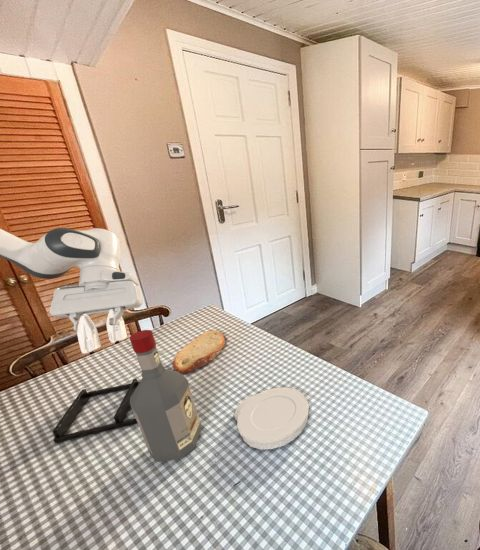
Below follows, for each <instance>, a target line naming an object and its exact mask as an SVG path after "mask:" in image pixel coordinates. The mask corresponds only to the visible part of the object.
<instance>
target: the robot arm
mask: <svg viewBox="0 0 480 550" xmlns="http://www.w3.org/2000/svg"><path fill="white" fill-rule="evenodd" d="M0 258H2V259H4V260H6V261H8V262H10V263H12V264H14V265H15V266H17V267H18V268H20V269H21V270H22V271H24V272H25V273H27V274H29V275H30V276H32V277H35V278H38V279H43V280H44V279H45V280H53V279H59V278H61V277H63V276H65V275H66V274H67V273H68V272H69V271H70V270H71V269H72V268H74V267H77V268H79V278H78V283H74V284H66V285H61V286H59V287H58V288H56V289H54V291H53V295H52V300H51V304H50V307H49V311H48V312H49V314H50V315H51V316H52V317H54V318H56V319H67V318H69V320H70V321H71V322H72V324H73V331H75V332H77V329H78V324H79V320H80V317H81V316H83V314H88V315H89V316H90V315H97V314H104V313H109V310H110V309H112V308H113V310H114V311H115V312H116V314H115V315H114V317H113V318H109V321H110V322H109V324H110V325H111V326H114V325H118V324H119V319H120V318H121V316H122V317H123V315H124V313H125V310H132V309H139V308H140V307H141V306H142V305H143V292H142V289H141V288H140V287H139V286H140V281H139V279H137V277H135V276H134V275H133V274H132V273H130V272H127V271H121V270H120V264H121V261H122V246H121V241H120V239H119V237H118V235H117V234H115V233H114V232H113V231H110V230H108V229H106V228H99V227H94V228H90V229H86V230H84V229H83V230H82V229H81V230H79V229H73V228H69V227H55V228H52V229H50V230H48V231H47V232H46V233H45V234H44V235H43V236H41V237H40V238H39V239H38V240H37V241H36V242H31V241H27V240H25V239H23V238H20V237H18V236H16V235H15V234H12V233H10V232H9V231H6V230H4V229H3V228H0Z"/></svg>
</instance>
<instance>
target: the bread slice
mask: <svg viewBox="0 0 480 550" xmlns="http://www.w3.org/2000/svg"><path fill="white" fill-rule="evenodd" d="M225 345H226V338H225V336H224V334H223V333H222V332H220V331H217V330H207V331H206V332H203V333H202V334H200V335H198V336H196V338H194V339H193V340H191V341H190V342H189V343H188V344H186V345H185V346H184V347H183V348H182V349H181V350H179V351H178V352H177V353H176V355H175V357H174V358H173V361H172V369H173V371H177V372H179V373H181V374H182V375H183V374H190V373H193V372H194V371H195V370H197V369H199V368H201V367H204V366H206V365H208V364H209V363H211V362H212V361H213V360H214V359H216V358H217V357H218V356H219V354H220V353H221V351H222V349H224V347H225Z"/></svg>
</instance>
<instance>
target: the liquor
mask: <svg viewBox="0 0 480 550" xmlns="http://www.w3.org/2000/svg"><path fill="white" fill-rule="evenodd" d="M129 341H130V344H131V346H132V349H133V352H134V353H135V355H136V358H137V361H138V364H139V367H140V370H141V380H140V381H139V382H140V383H139V385H138V386H137V388H136V389H135V391H134V392H133V394H132V396H131V397H130V405H131V406H130V407H131V410H132V413H133V415H134V418H136V420H137V425H138V427H139V430H140V433H141V435H142V437H143V440H144V443H145V445H146V448H147V450H148V453H149V455H150V456H151V458H152V459H153V460H154V461H155V462H157V463H160V462H168V461H174V460H182V459H183V458H185V457H187V456H188V455H190V453H192V452H193V451H194V449H195V446H196V445H197V442H198V439H199V438H200V435H201V432H202V429H203V428H202V425H201V422H200V421H201V420H200V418H199V415H198V411H197V408H196V405H195V401H194V398H193V394H192V390H191V387H190V384H189V381H188V378H186V377H185V376H184V375H183V374H181V373H179V372H177V371H175V370H174V369H169V368H166V367H165V366H164V365H163V363H162V361H161V357H160V354H159V352H158V349H157V343H156V339H155V337H154V334H153V331H152V330H150V329H142V330H139V331H136V332H134V333H133V334H131V335H130V337H129Z"/></svg>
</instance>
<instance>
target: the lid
mask: <svg viewBox="0 0 480 550" xmlns="http://www.w3.org/2000/svg"><path fill="white" fill-rule="evenodd" d="M309 406H310V405H309V402H308V399H307V397H306V396H305V395H304V394H303V392H300V391H299V390H298V389H295V388H291V387H288V386H287V387H285V386H283V387H273V388H270V389H266V390H264V391H262V392H260V393H255V394H253V395H250V396H247V398H245V399H243V400H242V401H241V402H240V403H239V404H238V405H237V407H236V408H235V411H234V414H233V417H234V419H235V420H236V422H237V423H236V427H237V430H238V432H239V436H241V438H242V440H243V442H245V443H246V444H247V445H248V447H251V448H254V449H258V450H275V449H278V448H281V447H283V446H285V445H287V444H289V443H291V442H292V441H294V440H295V439H296V438H297V437H298V436H299V435H300V434H301V433H302V432H303V431H304V429H305V427H306V425H307V423H308V417H309V411H310V407H309Z"/></svg>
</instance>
